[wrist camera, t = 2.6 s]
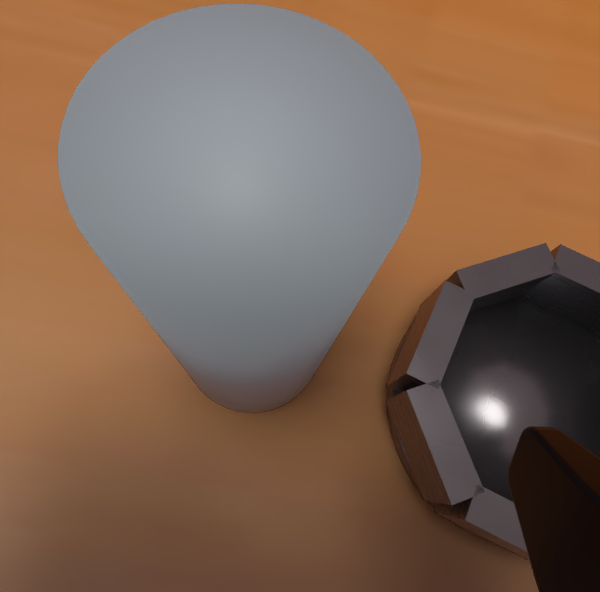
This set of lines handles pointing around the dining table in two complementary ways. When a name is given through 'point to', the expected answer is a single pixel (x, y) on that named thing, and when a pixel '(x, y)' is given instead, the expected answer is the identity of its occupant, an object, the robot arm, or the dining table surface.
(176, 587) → the dining table surface
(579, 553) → the robot arm
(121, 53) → the peg
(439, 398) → the socket collar
